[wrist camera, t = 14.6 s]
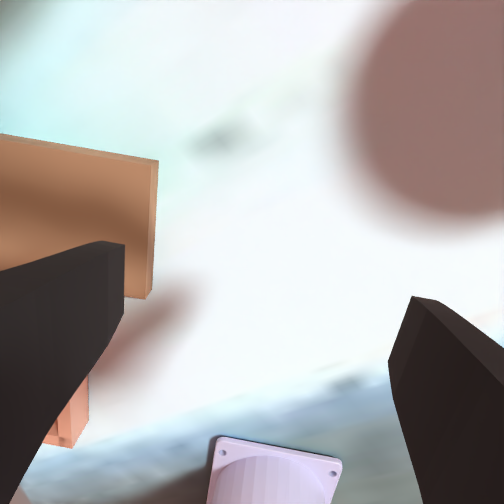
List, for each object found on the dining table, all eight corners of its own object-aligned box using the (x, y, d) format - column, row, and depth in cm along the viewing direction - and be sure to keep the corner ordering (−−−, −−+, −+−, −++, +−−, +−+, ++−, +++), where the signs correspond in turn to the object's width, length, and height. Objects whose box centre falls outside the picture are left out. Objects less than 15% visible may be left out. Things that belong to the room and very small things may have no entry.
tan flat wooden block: (154, 284, 23) (145, 299, 21) (-4, 255, 23) (-24, 268, 22) (162, 158, 20) (151, 165, 18) (-20, 127, 20) (-45, 131, 19)
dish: (88, 420, 27) (72, 448, 25) (-19, 399, 27) (-44, 426, 25) (85, 300, 23) (65, 322, 21) (-40, 277, 23) (-72, 297, 21)
